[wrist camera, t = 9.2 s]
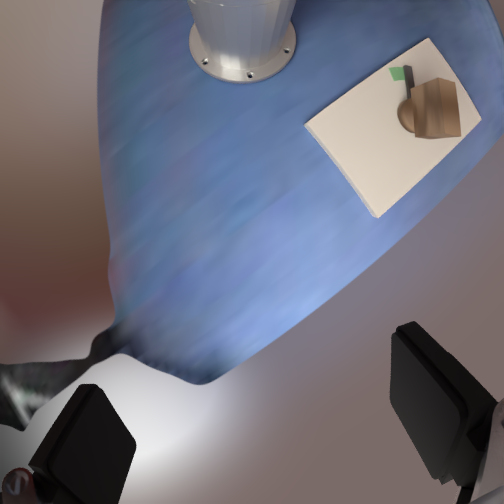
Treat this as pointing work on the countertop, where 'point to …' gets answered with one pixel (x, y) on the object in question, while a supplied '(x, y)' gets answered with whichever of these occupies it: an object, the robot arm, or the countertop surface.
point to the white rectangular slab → (387, 130)
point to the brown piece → (430, 108)
